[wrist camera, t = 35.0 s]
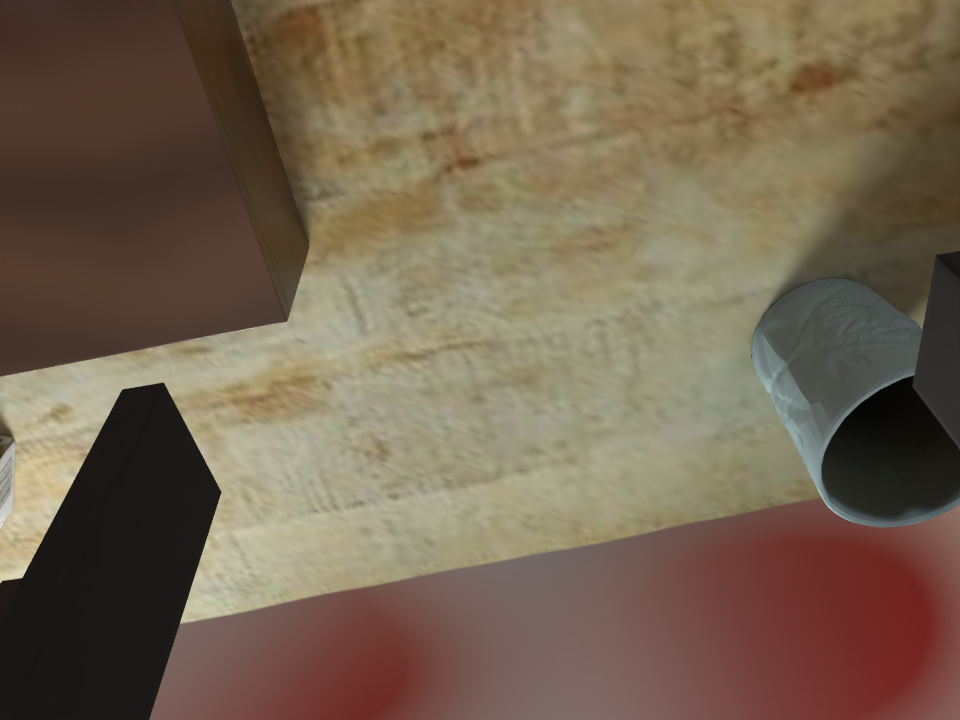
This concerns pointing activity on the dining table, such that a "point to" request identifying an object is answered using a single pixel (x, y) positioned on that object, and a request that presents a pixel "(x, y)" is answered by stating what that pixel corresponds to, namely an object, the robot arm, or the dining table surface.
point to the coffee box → (6, 476)
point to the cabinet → (135, 182)
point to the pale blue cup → (857, 403)
